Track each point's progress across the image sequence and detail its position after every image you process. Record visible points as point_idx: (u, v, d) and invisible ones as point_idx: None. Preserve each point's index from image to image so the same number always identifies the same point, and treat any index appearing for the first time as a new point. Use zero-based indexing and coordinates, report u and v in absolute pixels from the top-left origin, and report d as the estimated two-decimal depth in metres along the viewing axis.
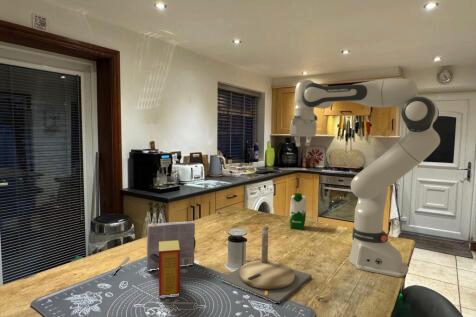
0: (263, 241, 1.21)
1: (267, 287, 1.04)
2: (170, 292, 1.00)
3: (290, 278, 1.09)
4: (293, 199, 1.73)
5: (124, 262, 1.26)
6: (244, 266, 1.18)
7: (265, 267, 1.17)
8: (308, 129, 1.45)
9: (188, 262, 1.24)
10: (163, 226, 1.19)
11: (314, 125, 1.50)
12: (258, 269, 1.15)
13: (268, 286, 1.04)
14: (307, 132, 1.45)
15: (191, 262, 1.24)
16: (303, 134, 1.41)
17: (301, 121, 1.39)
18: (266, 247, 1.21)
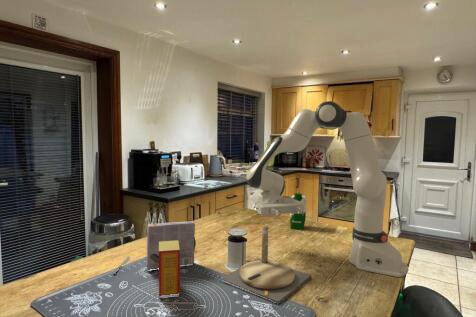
0: (263, 241, 1.21)
1: (267, 287, 1.04)
2: (170, 292, 1.00)
3: (290, 278, 1.09)
4: None
5: (124, 262, 1.26)
6: (244, 266, 1.18)
7: (265, 267, 1.17)
8: (284, 203, 1.31)
9: (188, 262, 1.24)
10: (163, 226, 1.19)
11: (293, 201, 1.35)
12: (258, 269, 1.15)
13: (268, 286, 1.04)
14: (283, 204, 1.29)
15: (191, 262, 1.24)
16: (276, 205, 1.27)
17: (264, 202, 1.32)
18: (266, 247, 1.21)
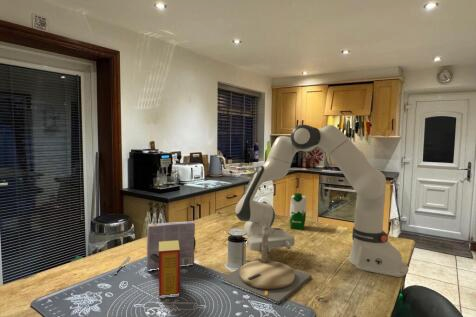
0: (263, 241, 1.21)
1: (267, 287, 1.04)
2: (170, 292, 1.00)
3: (290, 278, 1.09)
4: (293, 199, 1.73)
5: (125, 262, 1.26)
6: (244, 266, 1.18)
7: (265, 267, 1.17)
8: (274, 237, 1.31)
9: (188, 262, 1.24)
10: (163, 226, 1.19)
11: (284, 233, 1.35)
12: (258, 269, 1.15)
13: (268, 286, 1.04)
14: (274, 238, 1.29)
15: (191, 262, 1.24)
16: None
17: (255, 236, 1.31)
18: (266, 247, 1.21)
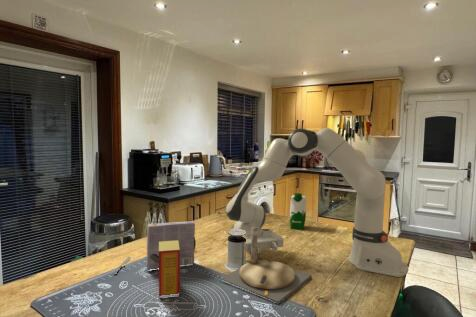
0: (254, 242, 1.19)
1: (282, 286, 1.05)
2: (170, 292, 1.00)
3: (292, 272, 1.13)
4: (293, 199, 1.73)
5: (125, 262, 1.26)
6: (242, 271, 1.13)
7: (260, 267, 1.17)
8: (262, 238, 1.30)
9: (188, 262, 1.24)
10: (163, 226, 1.19)
11: (273, 234, 1.34)
12: (257, 271, 1.14)
13: (283, 285, 1.05)
14: (262, 239, 1.28)
15: (191, 262, 1.24)
16: None
17: None
18: (256, 248, 1.20)
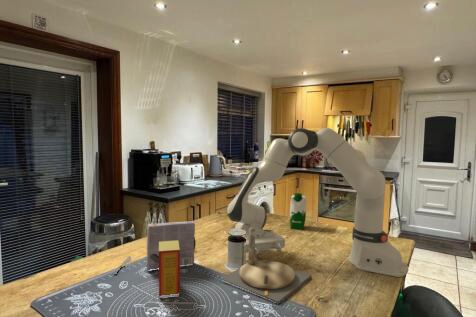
0: (252, 243, 1.19)
1: (285, 285, 1.06)
2: (170, 292, 1.00)
3: (291, 270, 1.15)
4: (293, 199, 1.73)
5: (125, 262, 1.26)
6: (242, 273, 1.12)
7: (259, 268, 1.16)
8: (264, 239, 1.29)
9: (188, 262, 1.24)
10: (163, 226, 1.19)
11: (274, 235, 1.33)
12: (257, 272, 1.13)
13: (286, 284, 1.06)
14: (264, 240, 1.27)
15: (191, 262, 1.24)
16: (255, 242, 1.25)
17: None
18: (254, 248, 1.19)
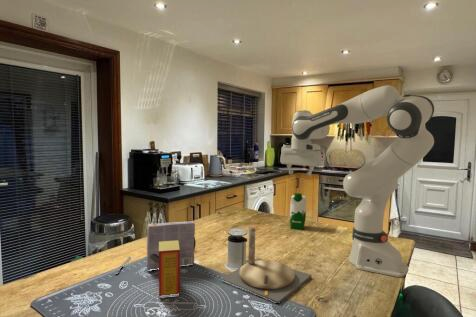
0: (252, 243, 1.19)
1: (285, 285, 1.06)
2: (170, 292, 1.00)
3: (291, 270, 1.15)
4: (293, 199, 1.73)
5: (126, 262, 1.26)
6: (242, 273, 1.12)
7: (259, 268, 1.16)
8: (301, 158, 1.45)
9: (188, 262, 1.24)
10: (163, 226, 1.19)
11: (313, 155, 1.41)
12: (257, 272, 1.13)
13: (286, 284, 1.06)
14: (299, 162, 1.45)
15: (191, 262, 1.24)
16: (292, 163, 1.48)
17: (288, 150, 1.49)
18: (254, 248, 1.19)
